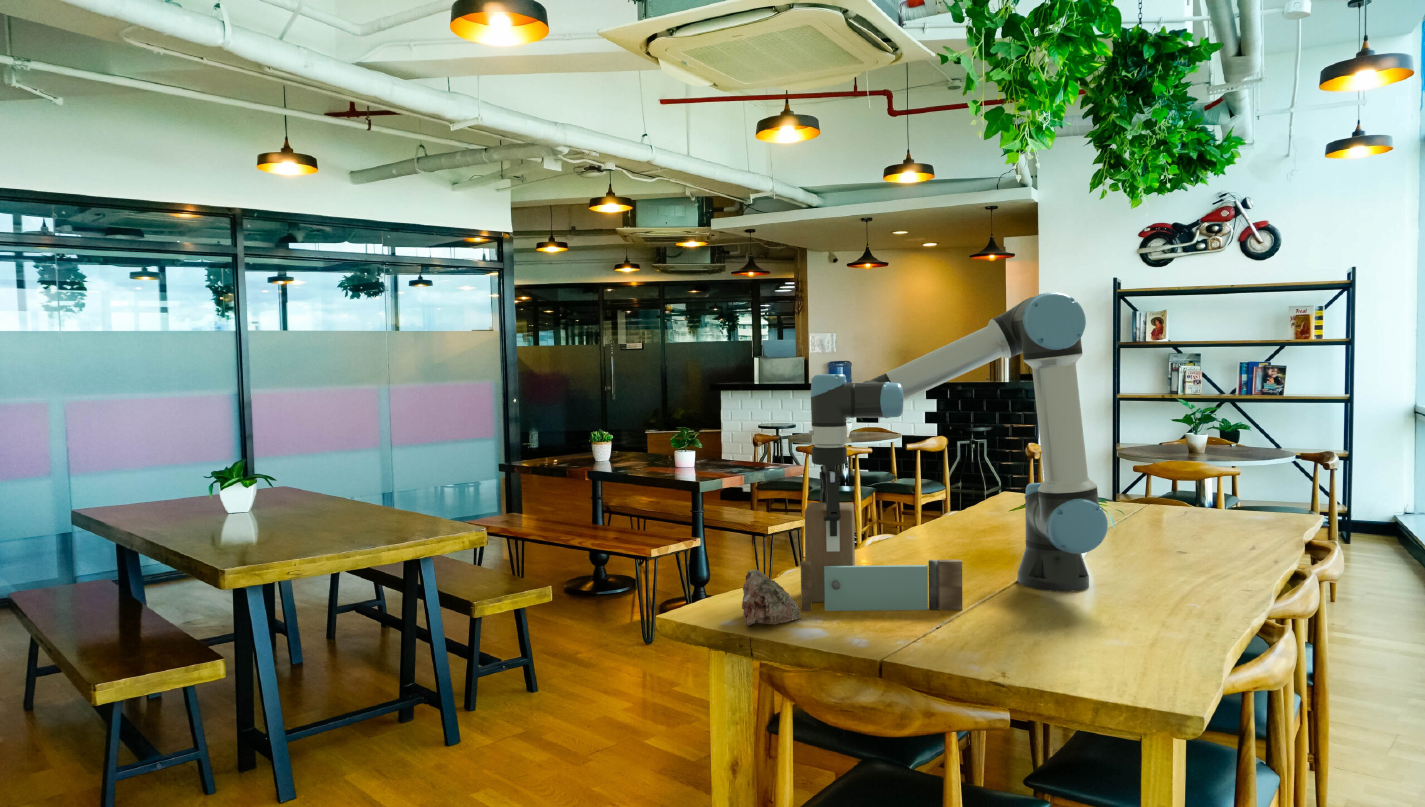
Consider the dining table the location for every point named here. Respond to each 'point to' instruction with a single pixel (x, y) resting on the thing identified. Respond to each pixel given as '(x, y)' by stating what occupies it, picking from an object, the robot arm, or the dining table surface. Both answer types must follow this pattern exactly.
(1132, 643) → the dining table surface
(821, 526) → the wooden block
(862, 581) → the door
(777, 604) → the rock
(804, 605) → the doorframe
